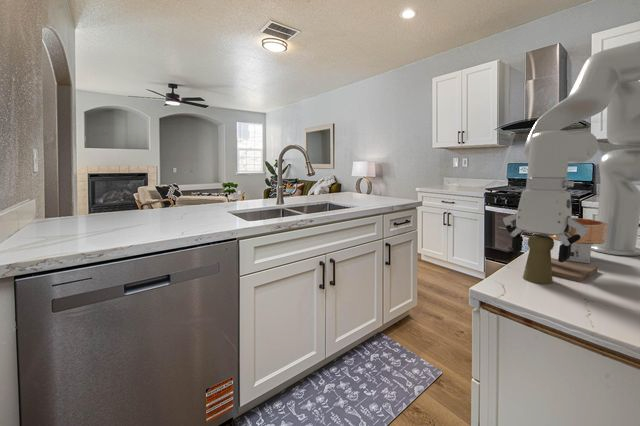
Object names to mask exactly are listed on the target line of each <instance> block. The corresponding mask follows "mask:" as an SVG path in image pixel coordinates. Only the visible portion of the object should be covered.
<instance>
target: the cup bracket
mask: <svg viewBox="0 0 640 426" xmlns="http://www.w3.org/2000/svg"><path fill="white" fill-rule="evenodd" d="M572 219H574V220H576V221H577V222H579V223H581V224H583V225H585V226H586V227H588V228H589V230H588V231H587V232H586V234H585V235H584V236H583V237H582V238H581V239H580V240H578V241H576V242H575V243H577V244H602V243H604V242H605V238H606V236H607V228H608V224H607V223H605V222H602V221H597V219H589V218H588V219H587V218H578V217H572ZM576 232H577V229H575V228H574V227H572V226H571V230H570V232H569V233H568V234H569V235H570V236H571V237H572V236H573V235H575V234H576ZM538 235H544V236H548V237H551V238H552V239H553V240H554V241H557V242H558V241H560V239H559V238H558V237H557V236H554V235H547V234H540V233H538ZM551 265H552V277H558V278H561V279H565V280H570V281H573V282H578V283H580V282H582V281H584V280H586V279H588V278H589V277H591V276H592V275H594V274H596V273H597V272H598V269H599V267H597V266H593V265H588V264H584V263H580V262H574V261H564V262H559V261H558V258H553V257H551Z"/></svg>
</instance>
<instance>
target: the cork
mask: <svg viewBox="0 0 640 426" xmlns="http://www.w3.org/2000/svg"><path fill="white" fill-rule="evenodd" d="M554 241H555V240H554V239H552V238H551V237H548V236H544V235H539V234H533V235H530V236H529V237H528V239H527V246H528V248H529V252H528V256H527V259H526V263H525V267H524V271H523V275H522V278H523V280H524V281H527V282H529V283H533V284H539V285H550V284H553V282H554V281H553V279H554V278H553V275H552V265H551V258H552V253H551V251H552V250H553V249H554V246H555V242H554Z"/></svg>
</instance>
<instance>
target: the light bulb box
mask: <svg viewBox="0 0 640 426" xmlns="http://www.w3.org/2000/svg"><path fill="white" fill-rule="evenodd" d="M560 245H562V242H561V241H558V240H557V250H556V251H557V254H558V255H559V248H560ZM591 245H592V244H577V243H573V244H571V252H570V258H569V259H567V261H569V262H574V263H582V264H584V263H585V264H590V262H591V254H592V250H591Z"/></svg>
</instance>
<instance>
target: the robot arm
mask: <svg viewBox="0 0 640 426" xmlns="http://www.w3.org/2000/svg"><path fill="white" fill-rule="evenodd" d="M605 109H606V139H607V141H608V143H609V144H611V145H614V146H634V145H635V146H638V145H640V40H639V41H638V40H637V41H634V42H631V43H626V44H622V45H619V46H618V45H617V46H614V47H612V48H611V47H610V48H607V49H604V50H601V51H598V52H596V53H594V54H593V55H591V56H589V57H588V58H587V59H586V61H585V62H584V64H583V66H582V68H581V69H580V71H579V74H578V76H577V78H576V80H575V82H574V84H573V85H572V88H571V90H570V92H569V93H568V95H567V97H566V98H564V99H562V101H560V102H558V103H557V104H555V105H554V106H553V107H552V108H550V109H549V110H548V111H546V112H545V113H543V114H542V115H541V116H540V117H539V118H538V119H537V120H536V121H535V123H534V124H533V126H532V128H531V130H530V132H529V134H528V136H527V138H526V141H525V144H524V148H523V150H524V151H523V154H524V157H525V160H527V162H528V164H527V172H526V173H527V176H526V184H525V190H522V191H521V192H522V193H521V195H520V198H519V203H518V207H517V212H516V213H514V214H510V215H508V216H505V217H503V218H502V221H503V223H504V225H505V229H506V230H507V232H509V234H510V236H511V237H512V239H511V242H512V243H511V249H512V253H513V254H516V253H519V252H522V250H523V240H524V237H523V236H522V234H523V233H524V232H528V233H535V234H547V235H554V236H557V237H558V238H559V239H560V241H561V242H562V245H560V248H559V254H558V258H557V259H558V261H559V262H564V261H567V259H569V258H570V252H571V244H573V243H575V242H576V241H578V240H580V239H581V238H582V237H583V236H584V235H585V234H586V232H587V231H588V230H589V228H588V227H586V226H585V225H583V224H581V223H579V222H577V221H576V220H574V219H572V218H573V217H572V216H573V215H572V212H573V211H572V210H573V209H572V198H571V193H570V192H569V191H566V190H567V189H569V188H573V187H574V186H575V182H574V181H573V180H569V179H568V170H569V169H568V168H569V164H582V163H585V162H588V161H590V160H592V158H594V157H595V155H596V153H597V152H598V150H599V142H598V138H597V136H595V135H594V134H593V133H592V132H589V131H586V130H575V131H574V130H573V131H566V130H563V129H565V128H566V127H569V126H571V125H573V124H576V123H579V122H582V121H584V120H587V119H589V118H591V117H594V116H595V115H597V114H599V113H601V112H603V111H604V110H605ZM598 167H599V169H598V170H599V179H600V184H599V185H600V188H599V189H600V190H599V200H598V207H597V216H596V217H597V218H596V220H597V221H602V222H605V223H607V224H608V228H607V236H606V238H605V242H604V243H602V244H592V245H591V251H595V252H597V253H604V254H608V255H614V256H627V257H628V256H630V257H634V256H636V257H637V256H640V248H638V247H637V246H636V245H637V241H638V239H637V238H638V232H639V225H640V190H639V188H638V187H637V186H636V185H635V183H634V182H640V148H624V149H622V148H621V149H615V150H611V151H607V152H606V153H604V154H603V155H602V156H601V157H600V159H599V163H598ZM512 221H515V226H514V224H513V222H512ZM571 226H572V227H574V228H575V229H577V232H576V234H575V235H573V236H572V237H571V236H570V235H569V234H568V233H569V232H570V230H571Z"/></svg>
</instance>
